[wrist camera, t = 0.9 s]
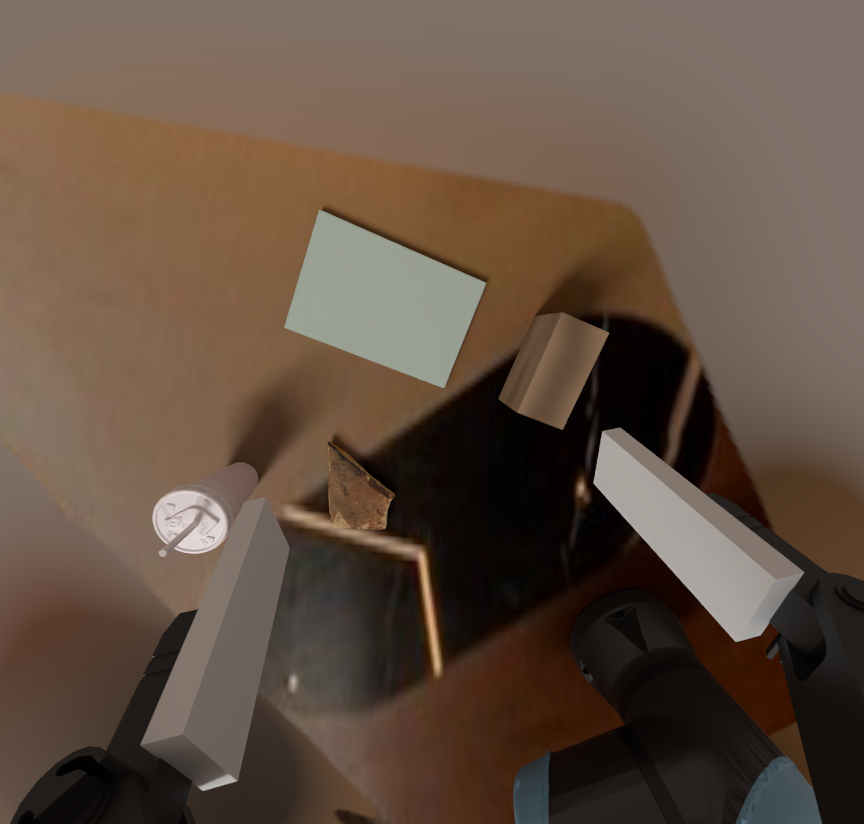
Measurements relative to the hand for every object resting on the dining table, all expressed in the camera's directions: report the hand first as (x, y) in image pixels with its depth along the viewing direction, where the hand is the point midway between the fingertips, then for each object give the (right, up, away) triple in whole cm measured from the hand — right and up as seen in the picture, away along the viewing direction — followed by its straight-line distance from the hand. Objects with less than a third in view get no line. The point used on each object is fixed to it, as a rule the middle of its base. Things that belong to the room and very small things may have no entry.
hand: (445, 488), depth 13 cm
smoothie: (-23, -4, +26) cm, 35 cm away
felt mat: (-5, +14, +23) cm, 27 cm away
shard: (-11, -7, +28) cm, 31 cm away
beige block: (+11, +8, +26) cm, 29 cm away
